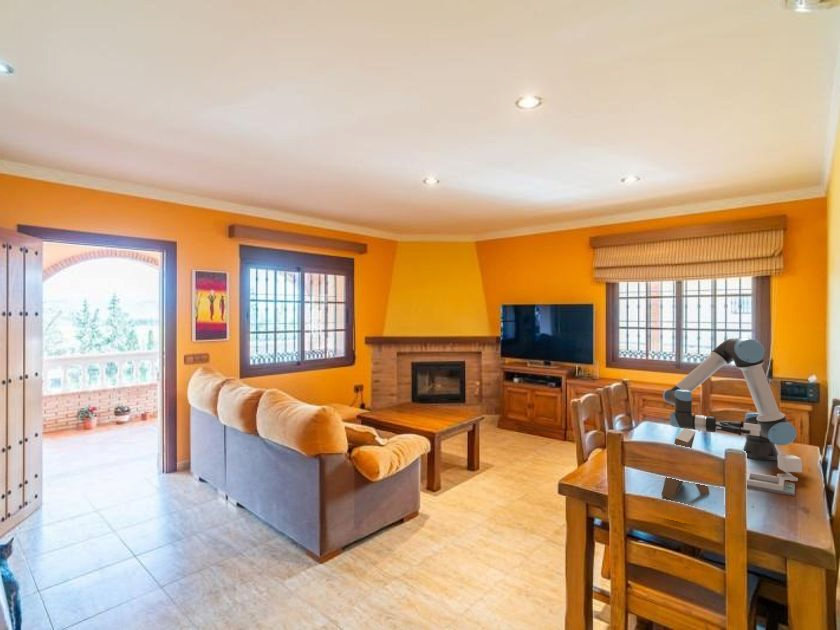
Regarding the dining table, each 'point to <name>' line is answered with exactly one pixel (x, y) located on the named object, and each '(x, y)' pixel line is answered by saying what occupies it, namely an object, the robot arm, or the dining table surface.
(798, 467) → the security camera
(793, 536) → the dining table surface
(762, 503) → the dining table surface
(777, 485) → the camera dock
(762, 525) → the dining table surface
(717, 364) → the robot arm
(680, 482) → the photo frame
